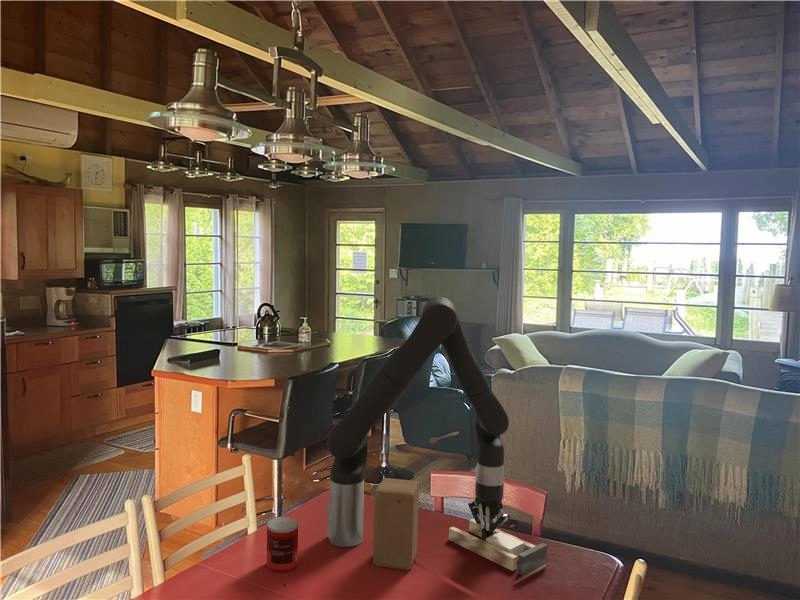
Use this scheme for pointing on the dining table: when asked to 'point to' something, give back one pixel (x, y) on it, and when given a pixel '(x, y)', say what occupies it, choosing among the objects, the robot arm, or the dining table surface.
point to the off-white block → (507, 543)
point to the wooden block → (395, 523)
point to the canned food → (282, 544)
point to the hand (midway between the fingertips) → (487, 541)
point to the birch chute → (501, 550)
